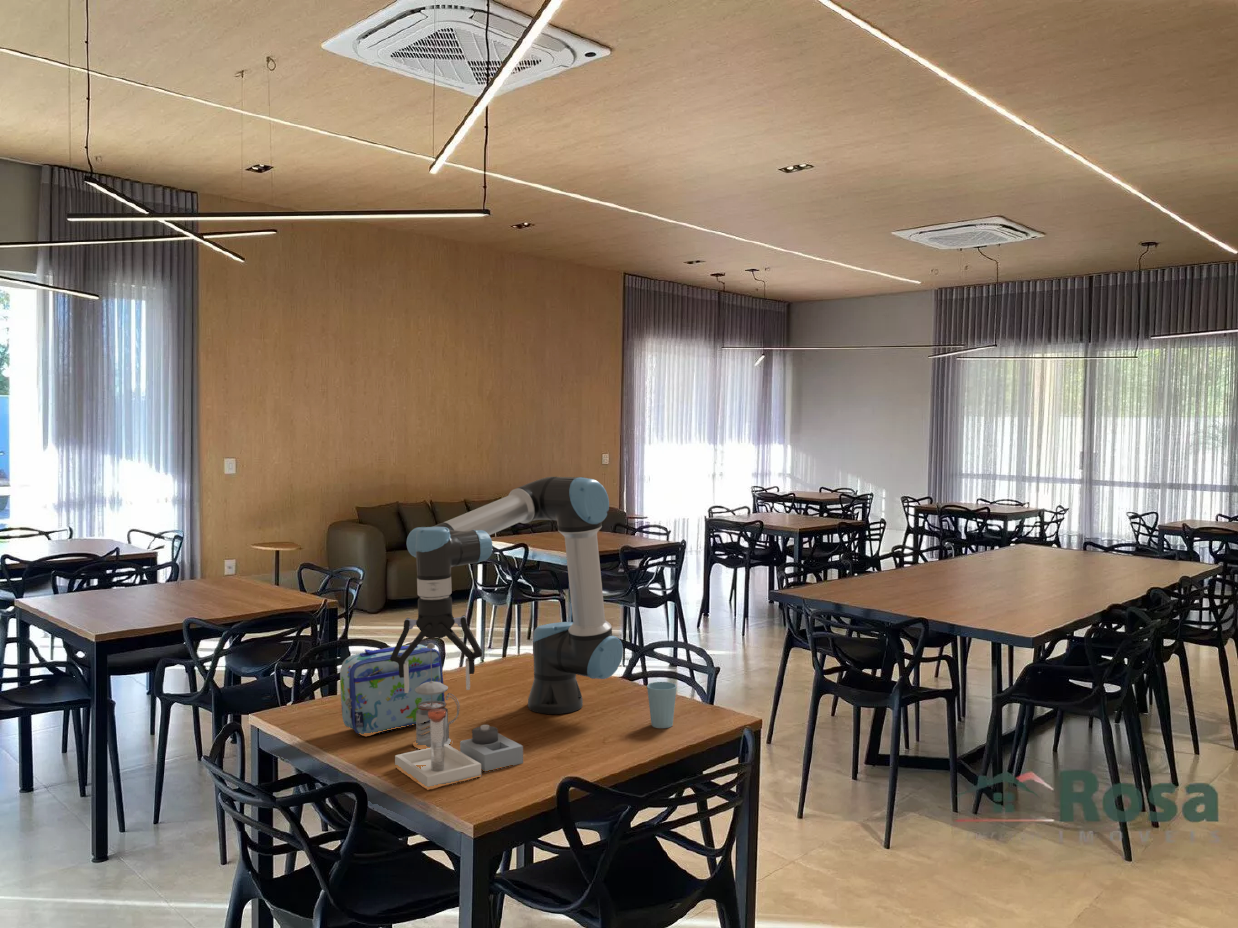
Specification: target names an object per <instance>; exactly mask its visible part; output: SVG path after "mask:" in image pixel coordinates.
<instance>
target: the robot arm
mask: <svg viewBox="0 0 1238 928" xmlns="http://www.w3.org/2000/svg"><path fill="white" fill-rule="evenodd" d="M609 510H610V499H609V495H608V492H607V490H606V488H605V487H604V485H603V484H601V483H600V481H598V480H596V479H594V478H589V477H588V478H587V477H584V476H582V477H581V476H576V477H575V476H574V477H571V476H569V477H568V476H548V477H543V478H539V479H535V480H533V481H532V482H529V483H528V482H527V483H526V484H524V485H520V486H519V487H516V488H514V489H511V490H510V492H509V493H508V495H507V496H504V497H501V498H500V499H497V500H495V501H494V500H493V501H492V502H490V503H487V504H484V505H482V506H480V507H477V508H476V509H473V510H471V511H467V512H466V513H463V514H459V515H458V516H456V517H453V518H451V519H449V520H446V521H443V522H441V523H438V524H436V525H435V524H434V526H433V525H432V526H427V527H426V526H421V527H415V528H413V529H412V530H410V532H409V534H408V535H407V538H406V548H407V551H408V553H409V554H410V555H411V556H412V557H414V558H415V559H416V561H415V563H416V574H417V575H416V587H417V596H418V597H419V598H418V599H417V613H418V614H417V615H418V616H417V619H411V618H410V617H406V618H405V620H404V621H403V628H402V629H403V630H402V632H401V634H400V636H399V638H398V640H397V642H396V644H395V646H396V647H395V646H394V647H395V649H394V651H393V653H392V655H391V657H390V660H391V661H392V662H393V661H394V662H397V663H398V664H399V677H400V678H404V691H405V693H408V692H409V667H408V661H405V660H406V659H407V658H408V656H409V655H410V654H411V653H412V651H413V650H414V649H415V648H416V647H417V645H418V644H420V643H421V642H422V641H423V640H424V638H425V637H426V638H427V639H431V640H433V639H443V638H445V637H446V638H448V639H449V640H450V641H451V642H452V643H453V644H454V646H456V647H457V648H458V650H459V651H460V652H462V654H464V657H466V658H465V663H464V664H465V688H466V689H465V690H466V691H470V689H471V675H474V674H475V671H476V670H475V669H476V668H475V667H476V666H475V660H476V659H478V658H481V657H482V656H483V650H482V649H481V646H480V645H479V643H478V641H477V639H476V638H475V636H474V634H473V632H472V630H471V628H470V626H469V624H468V619H467V616H466V615H465V614H463V615H461V616H459V617H454V615H453V597H452V596H451V594H452V593H453V592H452V591H453V590H452V589H453V588H452V587H453V586H452V568H453V567H455V568H456V567H460V566H465V565H471V564H472V565H473V564H478V563H480V562H485V561H487V560H489V558H490V557H491V556H492V554H493V547H494V546H493V540H492V538H491V535H494V534H495V533H498V532H500V531H503V530H505V529H507V528H509V527H512V526H514V525H516V524H519V523H521V524H529V523H531V522H533V521H538V520H539V521H540V520H545V521H546V520H547V521H548V520H550V521H556V524H557V525H556V526H557V531H558V533H560V534H561V535H562V536H563V537H564V543H565V546H564V547H565V553H566V554H565V555H566V563H567V565H566V567H567V574H568V582H569V583H568V584H569V586H568V587H569V592H570V593H569V595H570V603H571V604H570V605H571V612H572V613H571V614H572V621H561V622H552V623H551V622H550V623H547V624H541V625H539V626H537V627H536V628H535V629H534V631H533V641H532V647H533V650H532V651H533V653H532V654H533V682H532V685H531V687H530V693H529V695H528V698H527V707H528V709H529V710H530V711H532V712H535V713H538V714H546V715H548V714H549V715H559V714H560V715H561V714H568V713H573V712H576V711H578V710H580V709H582V707H583V700H584V699H583V696H582V692H581V690H580V687H579V683H578V681H577V676H582V677H585V678H590V679H592V680H593V679H598V680H606V679H609V678H611V677H612V676H613V675H614V674H615V673H616V672H617V670H618V669H619V666H620V664H621V662H622V660H623V659H622V658H623V652H624V648H623V643H622V641H621V639H619V638H618V637H617V636H615V635H613V627H612V624H611V623H610V622H609V621H607V620H606V614H605V606H604V605H605V604H604V593H603V583H602V573H601V563H600V552H599V543H598V542H599V541H598V532H599V531H600V530H601V529H602V527H603V526H602V525H603V524H602V523H603V522H604V521H605V519H606V518H607V516H608V512H609ZM455 624H456V625H457V626H458V627H459V628H461V629H462V631H463V634H464V635H465V637H466V640H467V641H468V643H469V645H470V646H471V648H472V650H471V649H470V648H469V647H468V646H467V645H466V644H465V642H463V640H462V639H461V638H460V637H458V635H457V634H456V632H455V631H454V630H453V629H452V628H453V626H454V625H455ZM415 626H416V627H417V628H418V629H419V630H420V631H419V633H418V634H417V636H416V637H415V638H414V639H413V641H412V642H411V643H410V644H408V645H409V647H408V648H407V649H406V650H405V652H404V653H403V654H402V655H401V656H399V655H398V653H399V651H400V649H401V647H402V645H404V643H405V640H406V638H407V636H408V634H409V632H410V630H412V629H413V628H414V627H415Z"/></svg>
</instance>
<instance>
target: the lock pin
mask: <svg viewBox="0 0 1238 928" xmlns="http://www.w3.org/2000/svg"><path fill="white" fill-rule="evenodd" d="M445 717H446V710H444V709H432V710H429V711H428V718H429V719H430V721H429V722H430V726H429V727H430V731H429V732H430V737H431V771H434V772H438V771H443V770H444V718H445Z"/></svg>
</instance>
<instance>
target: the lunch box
mask: <svg viewBox="0 0 1238 928" xmlns="http://www.w3.org/2000/svg"><path fill="white" fill-rule="evenodd" d="M409 645H410V644H403V645H402V647H401V649H400V651H399V653H398V655H399V656H401V655H402V654H403V653H404V652H405V650H406V649H407V648H408V647H409ZM395 647H396V645H395V646H391V647H383V648H378V649H374V650H371V649H365V648H364V652H359V653H356V654H355V653H354V654H352V655H350V656H348V657H347V658H345V659H344V660H343V661H342V664H341V666H340V671H339V673H340V674H339V679H340V681H339V682H340V685H339V686H340V704H341V705H340V706H341V717H342V720H343V721H342V722H343V724H344V726H346V727H347V728H349V727H350V729H351V728H352V729H351V730H354V732H355V734H357V733H358V734H359V733H361V734H364V733H371V732H372V733H373V732H378V731H383V730H387V729H391V728H395V727H401V726H407V725H412V724H416V711H417V710H418V709H419V708H418V707H417V705H418V704H419V703H422V702H425V701H426V702H427V701H431V695H422V694H418V693H416V692H415V688H417V687H418V686H420V685H421V684H423V683H425V682H430V681H431V656H432V681H433V682H440V683H442V684H444V676H443V669H442V667H443V666H442V658H441V654H440V651H438V650H437V649H436V648H431V649H429V648H427V645H424V644H420V643H419V644H418V645H417V647H416V648H415V649H414V650H413V651H412V653H411V654H410V655H409V656H408V658H407V659H406V660H405V661H408V667H409V692H408V693H405V691H404V678H400V677H399V664H398V663H397V662H394V661H393V662H392V661H391V660H390V657H391V655H392V653H393V651H394V649H395ZM435 700H436V701H444V702H445V703H446V701H445V700H446V697H445V692H444V693H440V694H435V695H432V701H435ZM426 716H428V715H426ZM428 722H430V720H429V721H426V723H428ZM358 734H357V735H358Z"/></svg>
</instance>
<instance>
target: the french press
mask: <svg viewBox="0 0 1238 928" xmlns="http://www.w3.org/2000/svg"><path fill="white" fill-rule="evenodd" d="M426 647H427V648H429V649H431V648H432V649H436V646H435V643H433V642H429V643H427V645H426ZM448 688H449V686H448V685H446V684H444V683H443V684H442V683H440V682H433V681H432V656H431V681H430V682H425V683H423V684H421V685H420V686H418V687H417V688H415V692H416V693H418V694H422V695H431V701H427V702H426V701H425V702H422V703H419V704H418V705H417V707H418V708H419V709H418V710H417V711H416V725H415V731H416V732H415V734H416V735H415V737H416V740H415V741H416V743H418V744H417V745H426V746H427V747H431V737H430V721H429V720H430V719H429V718H428V716H426V715H428V711H429V710H432V709H444V710H446V717H445V718H444V744H448V745H449V744H450V742H451V740H452V739H450V725H451V724H453V723H455V721H456V720H457V718H458V717H459V714H460V701H459V699H458V698H457V697H456V696H455V695H454V694H453V693H447V694H446V696H445V700H446V701H448V700H449V698H451V699H452V700H453V701H454V703H455V704H456V714H455V715H456V716H455V717H454V719H451V720H450V721H449V718H448V716H449V714H448V713H449V711H448V708H447V702H446V701H445V702H444V701H436V700H435V701H432V695H435V694H440V693H444V694H445V692H447V691H448ZM426 721H428V722H426ZM424 722H426V723H424Z"/></svg>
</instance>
